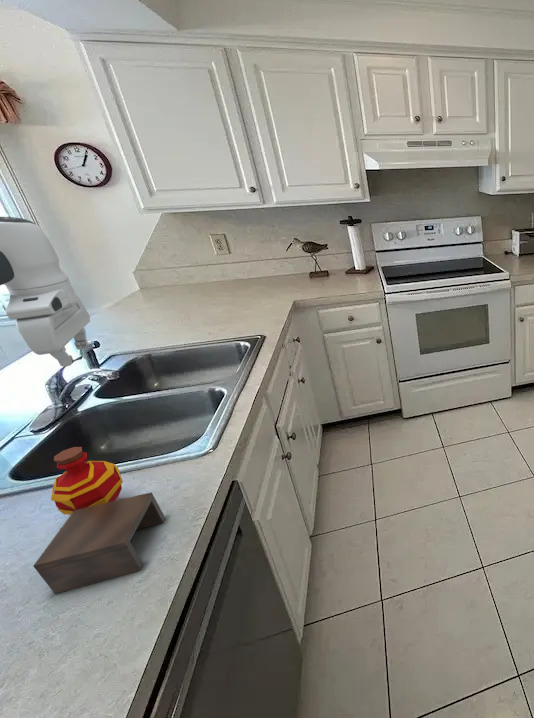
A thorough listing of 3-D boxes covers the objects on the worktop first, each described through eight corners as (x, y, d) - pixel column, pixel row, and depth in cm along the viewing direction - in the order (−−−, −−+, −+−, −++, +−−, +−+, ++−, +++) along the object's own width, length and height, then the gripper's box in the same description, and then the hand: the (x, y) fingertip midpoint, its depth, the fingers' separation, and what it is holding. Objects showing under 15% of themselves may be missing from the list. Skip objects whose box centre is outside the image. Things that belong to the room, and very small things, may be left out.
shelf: (54, 594, 68) (32, 566, 65) (91, 536, 78) (74, 509, 75) (140, 570, 72) (123, 542, 69) (165, 518, 82) (151, 492, 79)
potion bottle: (146, 500, 86) (115, 443, 80) (85, 539, 78) (44, 479, 71) (118, 486, 90) (87, 431, 84) (58, 521, 82) (17, 463, 76)
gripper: (46, 286, 92) (74, 342, 98) (0, 314, 76) (37, 379, 82) (83, 282, 95) (108, 336, 101) (45, 308, 79) (78, 371, 84)
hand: (76, 356), depth 91 cm, fingers open, 8 cm apart
